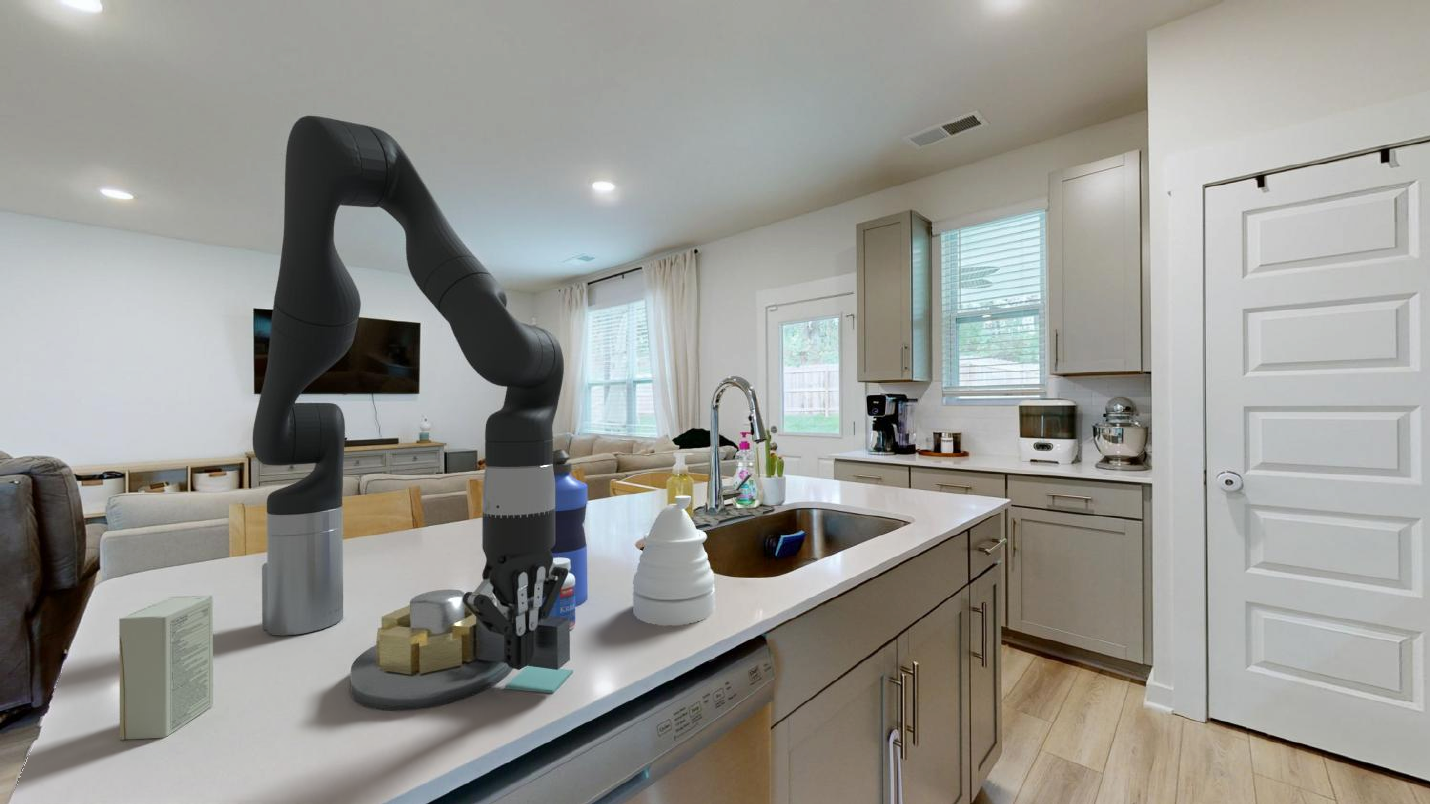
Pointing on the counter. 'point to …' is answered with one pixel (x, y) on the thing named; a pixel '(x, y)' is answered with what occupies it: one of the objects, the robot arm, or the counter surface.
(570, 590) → the pill bottle
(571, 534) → the blue bottle
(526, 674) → the pad
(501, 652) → the clamp assembly
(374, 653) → the housing
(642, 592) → the honey pot
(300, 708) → the counter surface
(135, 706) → the skincare box
